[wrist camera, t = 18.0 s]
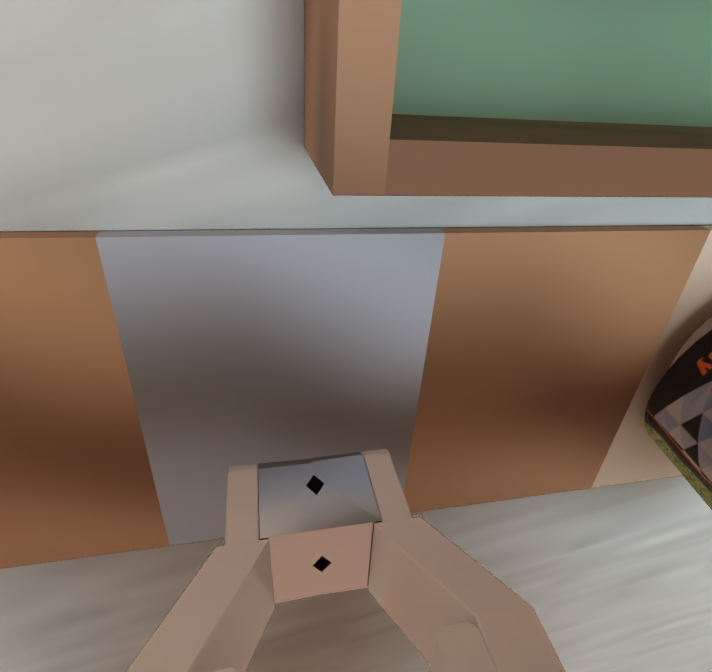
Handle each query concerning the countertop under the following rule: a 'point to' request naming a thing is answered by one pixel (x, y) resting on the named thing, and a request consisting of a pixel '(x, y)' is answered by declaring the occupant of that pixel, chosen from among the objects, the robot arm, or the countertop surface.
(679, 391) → the beverage can
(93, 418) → the board
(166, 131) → the countertop surface
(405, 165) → the tray
